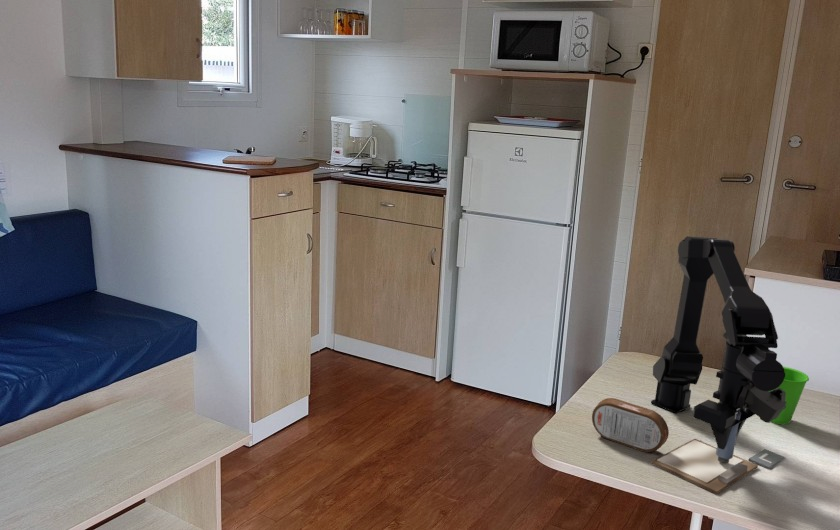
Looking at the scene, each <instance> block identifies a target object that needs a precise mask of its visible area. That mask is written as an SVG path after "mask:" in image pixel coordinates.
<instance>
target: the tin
mask: <svg viewBox="0 0 840 530" xmlns="http://www.w3.org/2000/svg"><path fill="white" fill-rule="evenodd" d="M591 421H592V424H593V427H594V430H595V431H596V432H597V433H598V435H600V436H601V437H603V438H604V439H606V440H609V441H611V442H613V443H614V442H615V443H617V444H620V445H623V446H626V447H629V448H632V449H634V450H638V451H640V452H646V453H652V452H655V451H657V450H659V449H660V448H661V447H662V446H663V445H664V444H666V442H667V441H668V439H669V435H670V434H669V426H668V424H667V421H666V420H665V419H664V418H663V416H662V415H661V414H660V413H659V412H657V411H655V410H654V409H650V408H648V407H647V408H646V407H644V406H641V405H638V404H634V403H631V402H627V401H625V400H622V399H619V398H614V397H607V398H604V399H602V400H600V401H599V402H598V403H597V405H596V406H595V407H594V409H593V411H592V414H591Z"/></svg>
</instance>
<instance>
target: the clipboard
mask: <svg viewBox="0 0 840 530" xmlns="http://www.w3.org/2000/svg"><path fill="white" fill-rule="evenodd" d="M716 449H717V446H714V445H711V444H709V443H707V442H704V441H701V440H700V439H698V438H693V439H691V440H689V441H688V442H686V443H684V444H681V445H680V446H678V447H676V448H674V449H672V450H670V451H668V452H667V453H664V454H663V455H661V456H658V457H657V458H655V459H653V460H652V461H651V465H653V466H655V467H657V468H658V469H659V468H660V469H661V470H664V471H666V472H667V473H670V474H672V475H674V476H676V477H678V478H680V479H682V480H685V481H687V482H689V483H691V484H693V485H695V486H697V487H700V488H702V489H704V490H707V491H708V492H710V493H712V494H714V495H718V494H719V493H721V492H723V491H724V490H726V489H728V488H729V487H731V486H733V485H734V484H736V483H737V482H738V481H740V480H741V479H743V478H744V477H746V476H748V475H749V474H751V473H752V472H754V471H755V470H757V469H759V465H758V464H756V463H753V462H751V461H749V460H746V459H744V458H742V457H739V456H737V455H735V454H733V458H732V459H729V463H721V462H719V461H718V456H717V455H716Z"/></svg>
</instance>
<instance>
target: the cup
mask: <svg viewBox="0 0 840 530" xmlns="http://www.w3.org/2000/svg"><path fill="white" fill-rule="evenodd" d="M783 368H784V372H785V378H784V381H783V382H782V384H781V385H780V386H779V387H778V388H781V389H782V390H783V391H785V392H786V397H785V401H786V402H787V403H786V408H785V409H783V410H782V411H781V413H780V414H779V416H778V417H777V418H776V419H774V420H772V421H771V422H770V423H773V424H777V425H783V424H785V425H789V424H790V423H791V421H792V419H793V417H794V414H795V412H796V408H797V406H798V404H799V401H800V398H801V395H802V394H803V391H804V388H805V386H806V384H807V382H809V380H810V378H809V375H807V374H806V373H805V372H803V371H800V370H799V369H798V370H797V369H795V368H792V367H788V366H787V367H786V366H783ZM776 389H777V388H776ZM771 391H772V390H771ZM769 392H770V391H769Z"/></svg>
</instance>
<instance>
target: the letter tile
mask: <svg viewBox="0 0 840 530" xmlns="http://www.w3.org/2000/svg"><path fill="white" fill-rule="evenodd" d="M784 459H786V456H784V455H782V454H779V453H777V452H774V451H772V450H769V449H766V448H763V449H762V450H760V451H759V452H757V453H756V454H753V455H752V456H751V457H749V458H748V461H749V462H752V463H754V464H756V465H758V466H761V467H763V468H765V469H768V470H770V469H771V468H772V467H774V466H775V465H777V464H779V463H781V462H782V461H784Z"/></svg>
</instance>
